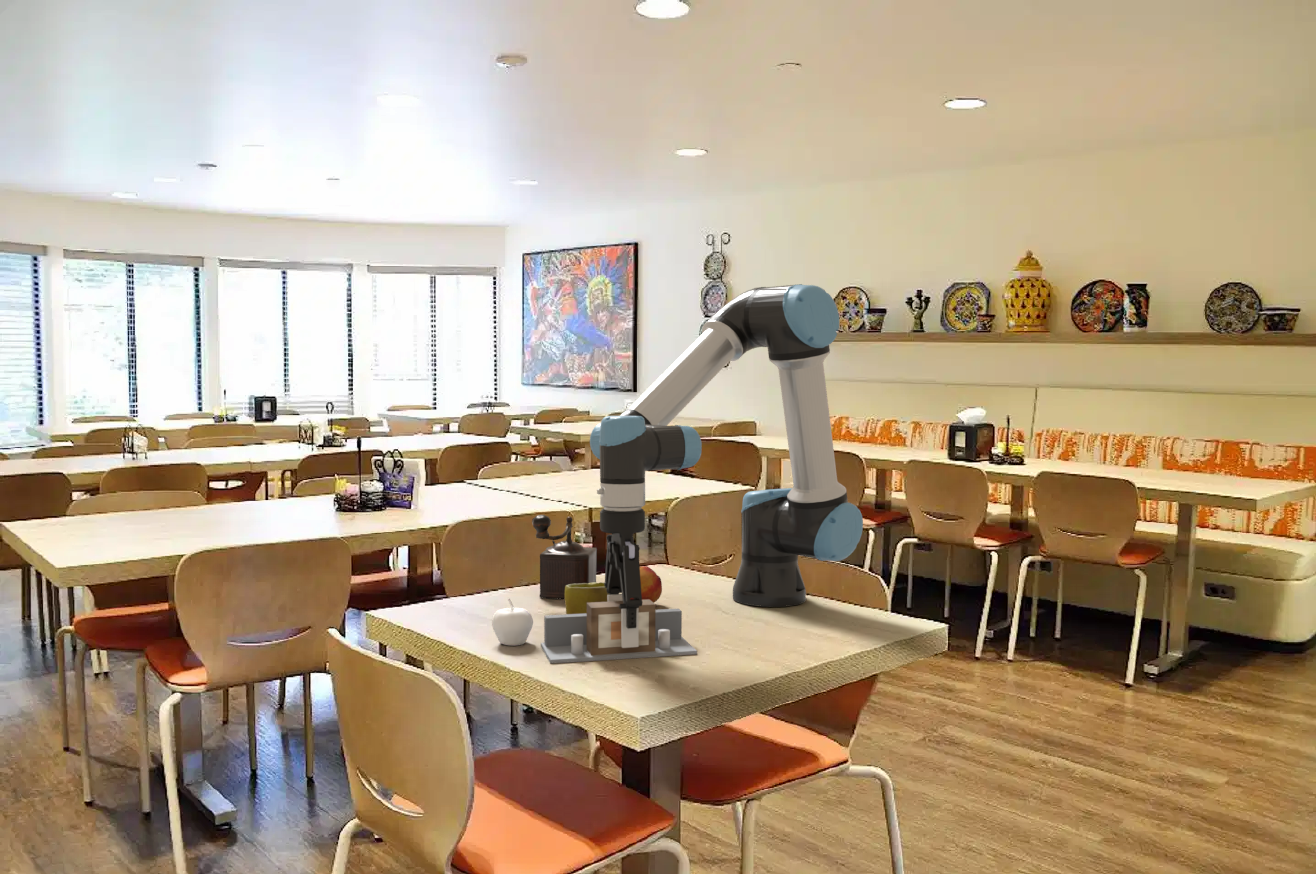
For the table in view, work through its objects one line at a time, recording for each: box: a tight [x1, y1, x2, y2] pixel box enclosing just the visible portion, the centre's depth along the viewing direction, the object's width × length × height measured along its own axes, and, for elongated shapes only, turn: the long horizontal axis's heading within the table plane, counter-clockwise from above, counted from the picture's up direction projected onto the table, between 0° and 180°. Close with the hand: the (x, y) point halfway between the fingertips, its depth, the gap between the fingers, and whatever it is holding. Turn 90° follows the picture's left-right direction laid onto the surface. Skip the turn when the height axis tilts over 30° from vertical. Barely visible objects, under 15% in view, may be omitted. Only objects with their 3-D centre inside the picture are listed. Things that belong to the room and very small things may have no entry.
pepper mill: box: [531, 514, 598, 601], centre depth 228 cm, size 16×11×18 cm
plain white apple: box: [491, 598, 534, 647], centre depth 191 cm, size 7×7×8 cm
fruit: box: [630, 565, 663, 604], centre depth 221 cm, size 8×8×8 cm
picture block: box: [587, 599, 657, 655], centre depth 185 cm, size 11×4×8 cm, turn 105°
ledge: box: [540, 608, 698, 664], centre depth 187 cm, size 25×11×6 cm, turn 104°
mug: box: [564, 581, 610, 614], centre depth 204 cm, size 12×10×10 cm
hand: (622, 639), depth 184 cm, fingers open, 10 cm apart
